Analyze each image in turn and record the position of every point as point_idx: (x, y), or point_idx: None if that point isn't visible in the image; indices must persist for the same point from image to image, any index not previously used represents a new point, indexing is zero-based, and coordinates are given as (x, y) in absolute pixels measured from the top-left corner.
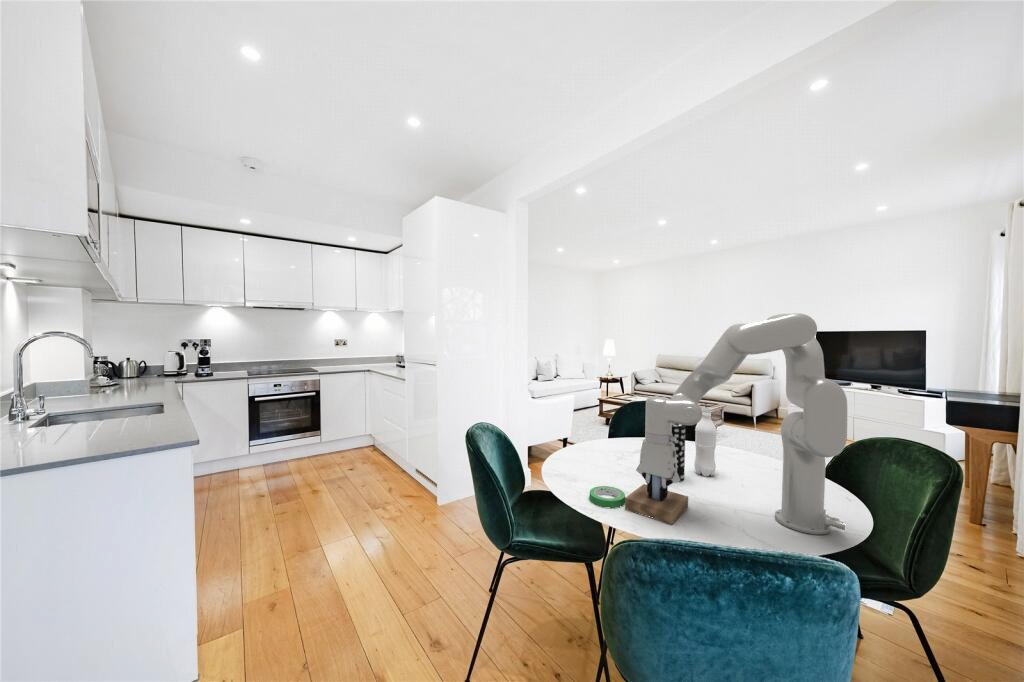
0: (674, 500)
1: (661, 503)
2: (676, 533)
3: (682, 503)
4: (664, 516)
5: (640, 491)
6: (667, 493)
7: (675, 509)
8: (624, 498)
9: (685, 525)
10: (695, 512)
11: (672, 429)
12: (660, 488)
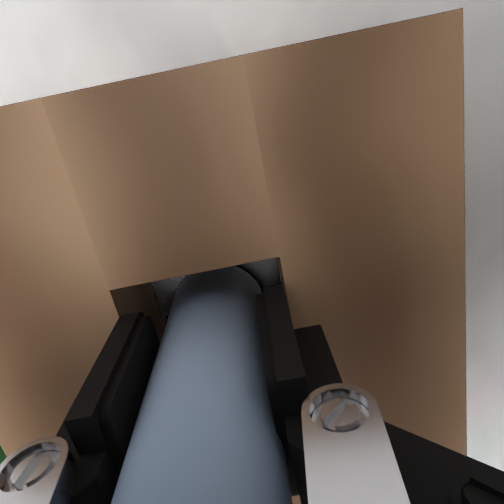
0: (379, 267)
1: None
2: (477, 459)
3: (458, 239)
4: None
5: (18, 367)
6: (324, 334)
7: (464, 420)
8: (6, 457)
9: (489, 344)
10: (487, 72)
11: None
12: (294, 490)
